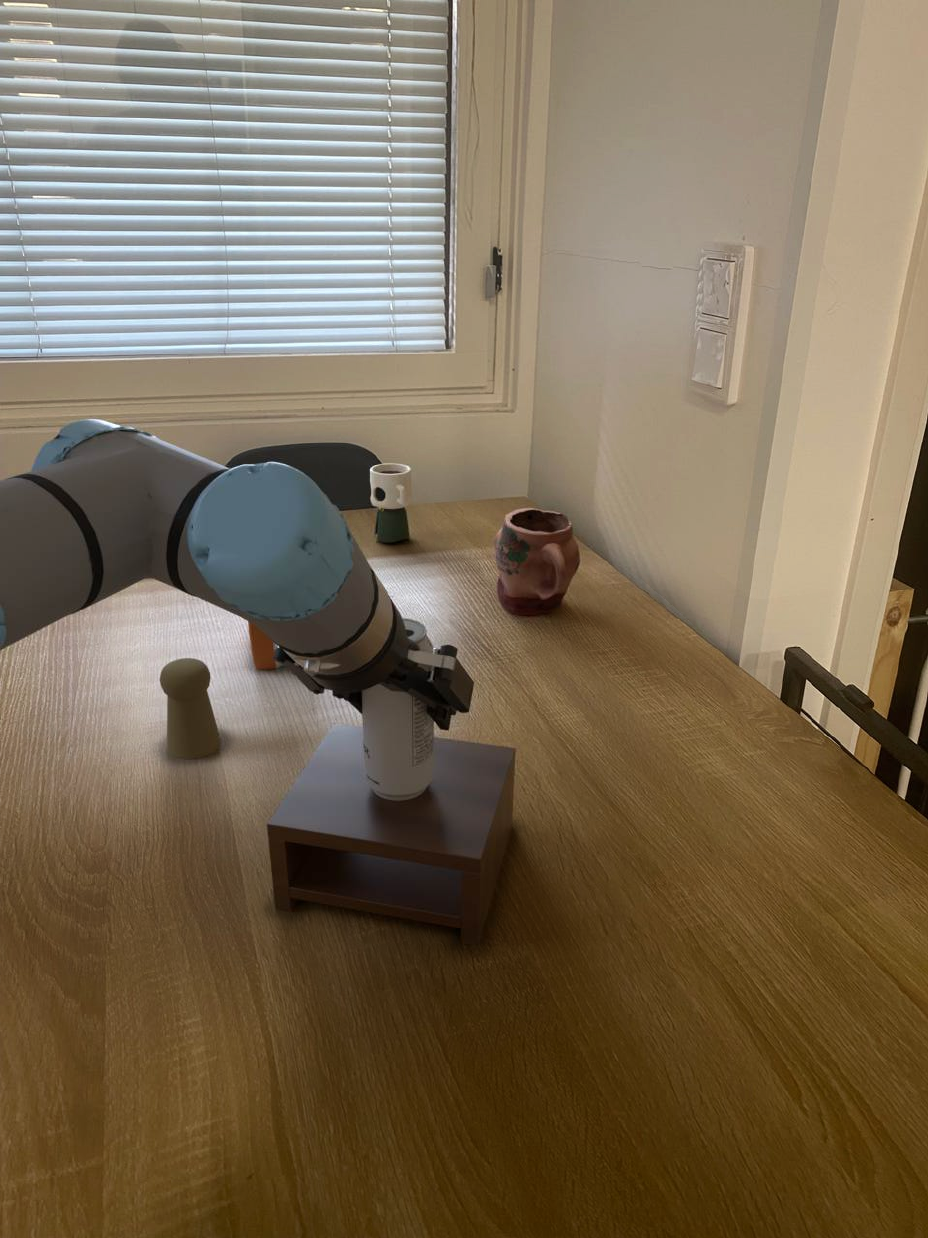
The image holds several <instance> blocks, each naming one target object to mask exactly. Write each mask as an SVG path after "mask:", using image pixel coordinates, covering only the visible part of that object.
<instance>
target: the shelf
mask: <svg viewBox="0 0 928 1238" xmlns="http://www.w3.org/2000/svg"><path fill="white" fill-rule="evenodd" d="M516 749H517V748H516V747H512V746H511V747H510V746H503V745H496V744H489V743H481V742H473V741H466V740H460V739H452V738H445V737H438V736H434V775H433V779H432V781H431V783H430V784H429V785H428V786H427V787H426V789H425V791H424V792H423V793H422V794H420V795H419V796H417V797H415V798H412V799H408V800H402V801H394V800H388V799H385V798H382V797H380V796H378V795H377V794H376V793H375V792H374V791H373V789H372V788H371V787H370V786H369V785H368V784H367V782H366V780H365V774H364V746H363V726H359V725H352V724H345V723H337V722H334V723H333V724H332V726H331V727H330V728H329V730H328V731H327V733H326V734H325V736H324V738H323V739H322V740H321V742H320V743H319V745H318V747H317V748H316V749H315V751H314V753H313V754H312V755H311V757H310V758H309V760H308V762H307V763H306V765H305V766H304V768H303V769H302V770H301V772H300V774H299V775H298V777H297V778H296V780H295V781H294V782H293V784H292V786H291V787H290V789H289V790H288V791H287V793H286V795H285V796H284V798H283V799H282V800H281V802H280V803H279V804H278V807H277V808H276V810H275V811H274V813H272V815H271V817H270V819H269V820H268V821H267V823H266V830H267V831H266V832H267V841H268V851H269V861H270V869H271V880H272V891H273V901H274V910H276V911H283V912H289V913H291V912H293V910H294V908H295V906H296V904H297V902H298V900H300V901H306V902H312V903H317V904H323V905H329V906H333V907H338V908H344V909H350V910H356V911H361V912H367V913H371V914H372V913H373V914H378V915H384V916H390V917H395V918H399V919H406V920H411V921H418V922H423V923H429V924H434V925H440V926H444V927H451V928H456V929H460V944H462V945H467V946H473V947H479V945H480V942H481V938H482V935H483V931H484V928H485V924H486V921H487V918H488V914H489V910H490V907H491V904H492V903H491V902H492V899H493V896H494V893H495V890H496V889H495V888H496V885H497V882H498V877H499V874H500V870H501V867H502V865H503V864H502V863H503V860H504V857H505V853H506V849H507V846H508V842H509V839H510V835H511V831H512V829H513V814H514V796H515V795H514V791H515V772H516V771H515V770H516V751H517V750H516Z"/></svg>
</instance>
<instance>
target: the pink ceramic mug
mask: <svg viewBox="0 0 928 1238" xmlns="http://www.w3.org/2000/svg"><path fill="white" fill-rule="evenodd" d="M573 527H574V526H573V523H572V521H571V519H570V518H569V517H568V515H566V514H564V513H560V512H556V511H552V510H543V509H539V508H535V507H534V508H533V507H524V508H519V509H515V510H513V511H511V512H509V513H507V514H506V515H505V516H504V519H503V523H502V527H501V528H500V530H499V531H498V532H497V533H496V535H495V537H494V538H493V547H494V552H495V556H494V557H495V564H496V567H497V570H498V575H497V583H496V594H497V598H498V602H499V603H500V605H501V607H503V609H505V611H507V612H508V613H512V614H514V615H521V616H527V615H528V616H529V615H530V616H532V615H541V614H548V613H551V612H553V611H555V610H558V609H559V608H560V607H561V605H562V603H563V599H564V597H565V596H566V594H567V592H568V589H569V587H570V585H571V582H572V580H573V578H574V577H575V575H576V573H577V571H578V569H579V567H580V563H581V557H580V556H581V555H580V549H579V545H578V543H577V541H576V539H575V537H574V531H573Z"/></svg>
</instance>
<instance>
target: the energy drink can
mask: <svg viewBox="0 0 928 1238" xmlns="http://www.w3.org/2000/svg"><path fill="white" fill-rule="evenodd" d="M402 619H403V622H404V625H405V629H406V633H407V637H408V638H409V639H411V640H413V641H415V642H416V643H417V644H418V645H419V647H420V651H424V652H429V653H432V651H433V649H434V648H435V647H434V645H433V642H432V641H431V640H430V638H429V637H428V634H427V633H428V631H427V627H426V626H425V624H423V623H421V622H420V621H417V620H415V619H410V618H406V617H402ZM427 707H428V705H427V704H425V703H423V702H422V701H420V700H418V699H416V698H415V697H413V696H411V695H410V694H408V693H406V692H399V691H391V690H389V689H387V688H386V687H384V686H382V685H379V684H377V685H375V686H373V687H371V688H369V689H366V690H363V691H362V714H361V715H362V727H363V746H364V774H365V780H366V782H367V784H368V785H369V786H370V787H371V788H372V789H373V791H374V792H375V793H376V794H377V795H378V796H380V797H382V798H385V799H388V800H394V801H402V800H408V799H412V798H415V797H417V796H419V795H420V794H422V793H423V792H424V791H425V789H426V787H427V786H428V785H429V784H430V783H431V781H432V779H433V775H434V737H435V722H434V720H433V719H432V718H431V716H430V715H429V714H428V713H427Z"/></svg>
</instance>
